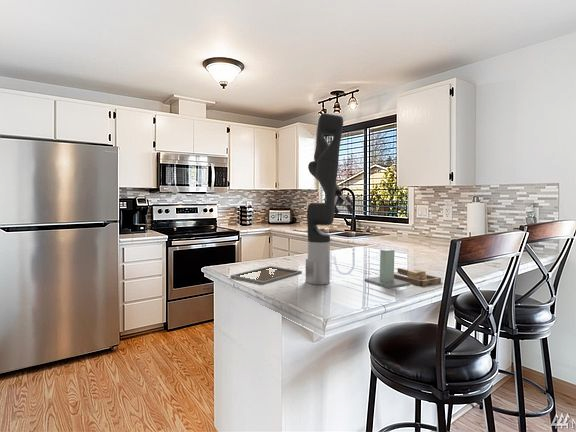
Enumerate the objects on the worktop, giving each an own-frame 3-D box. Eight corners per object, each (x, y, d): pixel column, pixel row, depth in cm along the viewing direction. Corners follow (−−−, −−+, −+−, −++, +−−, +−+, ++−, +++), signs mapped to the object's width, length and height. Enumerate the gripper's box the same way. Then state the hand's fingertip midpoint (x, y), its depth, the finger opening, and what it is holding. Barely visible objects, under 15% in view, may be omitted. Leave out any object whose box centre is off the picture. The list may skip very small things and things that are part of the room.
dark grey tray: (230, 275, 155) (273, 264, 179) (230, 279, 155) (273, 268, 179) (263, 282, 144) (305, 270, 167) (262, 286, 144) (305, 273, 167)
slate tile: (388, 288, 140) (388, 286, 140) (364, 280, 152) (364, 278, 152) (410, 284, 145) (410, 282, 145) (385, 277, 158) (385, 275, 158)
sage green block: (385, 282, 146) (385, 250, 145) (379, 280, 149) (380, 249, 148) (393, 280, 149) (394, 249, 148) (388, 279, 151) (389, 248, 150)
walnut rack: (421, 286, 143) (421, 281, 143) (380, 274, 163) (380, 270, 163) (440, 282, 149) (441, 278, 149) (398, 272, 169) (399, 268, 169)
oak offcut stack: (416, 283, 148) (416, 273, 148) (406, 281, 152) (406, 270, 152) (427, 281, 152) (427, 271, 151) (417, 279, 156) (417, 269, 156)
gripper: (322, 183, 171) (336, 208, 162) (345, 183, 178) (360, 207, 168) (316, 194, 176) (329, 218, 167) (339, 194, 183) (353, 217, 173)
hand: (345, 213), depth 168 cm, fingers open, 8 cm apart
